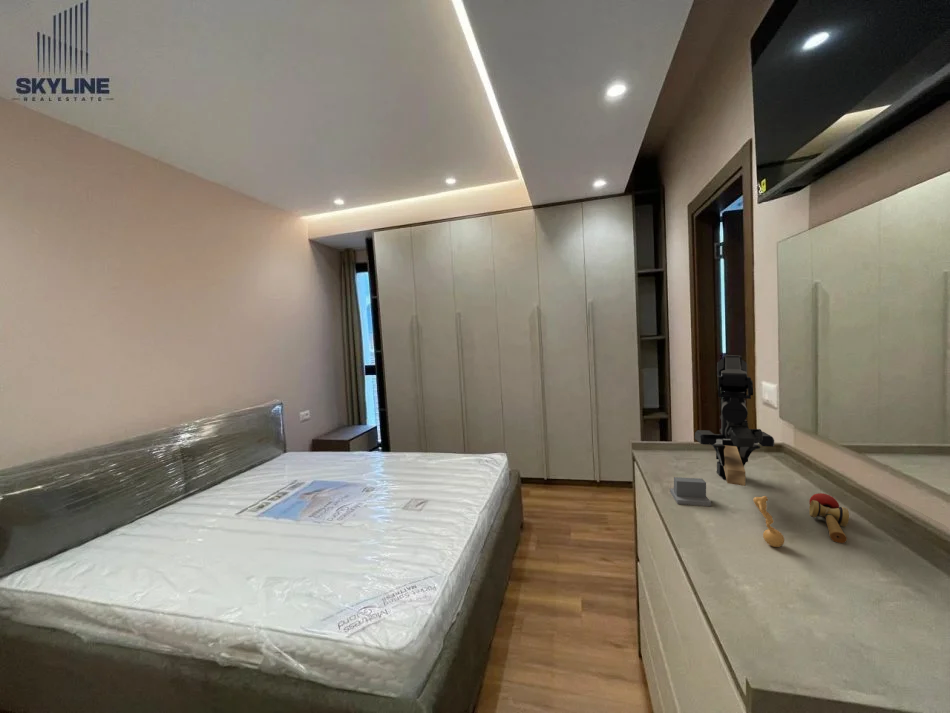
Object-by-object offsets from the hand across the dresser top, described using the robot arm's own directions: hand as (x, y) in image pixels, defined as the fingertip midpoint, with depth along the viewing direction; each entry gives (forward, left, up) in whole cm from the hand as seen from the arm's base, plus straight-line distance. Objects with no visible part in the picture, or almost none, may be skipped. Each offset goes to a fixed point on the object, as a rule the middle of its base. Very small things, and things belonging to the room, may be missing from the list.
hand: (732, 466), depth 109 cm
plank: (0, 0, -1) cm, 1 cm away
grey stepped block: (+11, 0, -11) cm, 16 cm away
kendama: (-18, +10, -11) cm, 24 cm away
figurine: (+1, +22, -11) cm, 25 cm away
